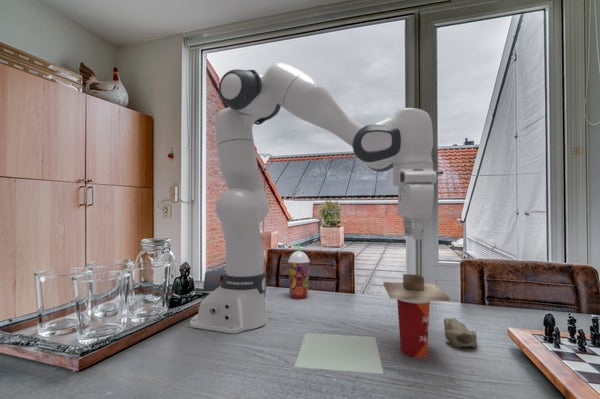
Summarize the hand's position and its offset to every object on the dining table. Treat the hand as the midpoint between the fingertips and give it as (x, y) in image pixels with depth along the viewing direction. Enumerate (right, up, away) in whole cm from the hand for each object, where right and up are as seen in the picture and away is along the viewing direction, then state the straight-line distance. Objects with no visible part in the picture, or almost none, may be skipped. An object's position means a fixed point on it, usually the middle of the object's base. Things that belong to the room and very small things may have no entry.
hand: (412, 237), depth 73 cm
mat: (-17, -27, 0) cm, 32 cm away
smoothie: (-27, -28, +46) cm, 60 cm away
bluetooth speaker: (-51, -28, +47) cm, 75 cm away
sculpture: (+14, -27, +7) cm, 32 cm away
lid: (0, -13, 0) cm, 13 cm away
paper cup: (0, -27, -1) cm, 27 cm away
